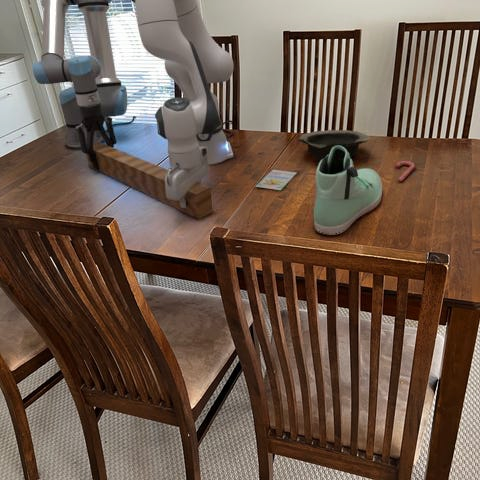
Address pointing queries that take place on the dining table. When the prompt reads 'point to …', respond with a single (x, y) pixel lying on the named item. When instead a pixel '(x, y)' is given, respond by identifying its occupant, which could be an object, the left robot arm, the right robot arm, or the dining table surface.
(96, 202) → the dining table surface
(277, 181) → the baking ingredient package
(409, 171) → the candy cane
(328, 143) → the stone bowl
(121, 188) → the dining table surface
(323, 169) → the sneaker
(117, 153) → the beam
